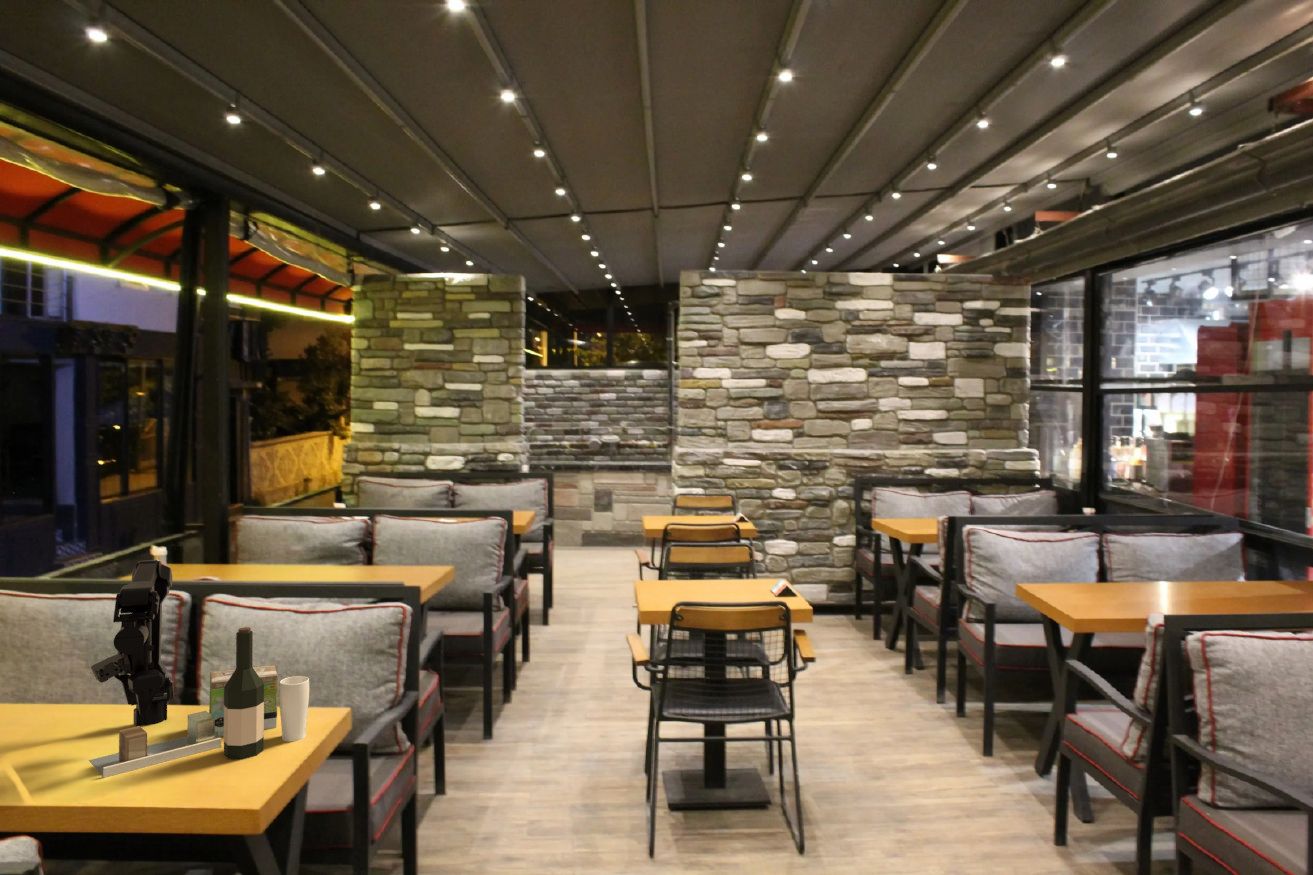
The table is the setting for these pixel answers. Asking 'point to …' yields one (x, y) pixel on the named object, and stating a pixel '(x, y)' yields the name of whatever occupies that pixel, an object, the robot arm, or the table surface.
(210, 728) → the sage tin
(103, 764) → the display board
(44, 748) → the table surface
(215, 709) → the tea box
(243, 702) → the wine bottle
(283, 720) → the drinking glass
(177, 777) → the table surface
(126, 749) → the block
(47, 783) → the table surface
